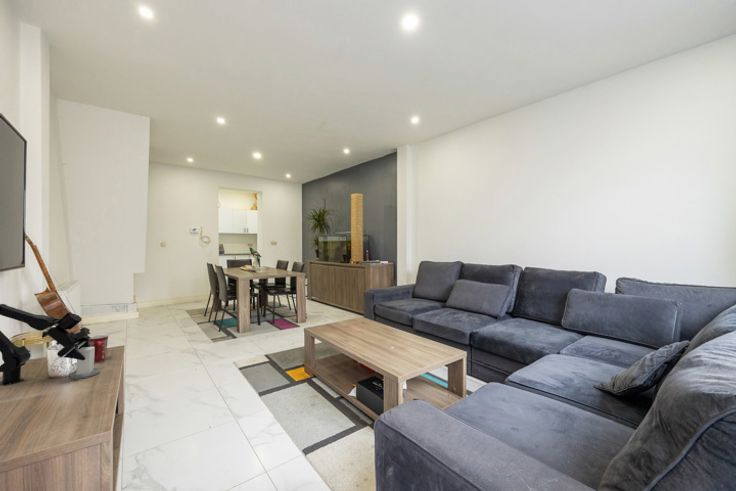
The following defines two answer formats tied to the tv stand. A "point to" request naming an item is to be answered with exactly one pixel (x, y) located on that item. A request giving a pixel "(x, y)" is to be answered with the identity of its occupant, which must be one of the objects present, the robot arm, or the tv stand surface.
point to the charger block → (86, 361)
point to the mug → (99, 346)
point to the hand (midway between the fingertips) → (89, 356)
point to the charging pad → (82, 376)
